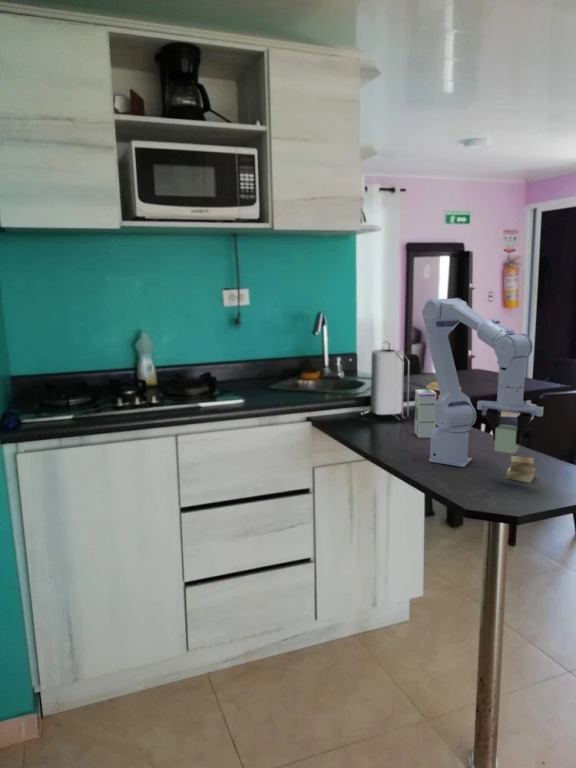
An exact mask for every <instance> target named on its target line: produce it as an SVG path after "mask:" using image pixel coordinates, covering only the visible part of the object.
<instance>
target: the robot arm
mask: <svg viewBox="0 0 576 768" xmlns="http://www.w3.org/2000/svg"><path fill="white" fill-rule="evenodd" d="M422 308H423V309H422V310H421V314H422V318H423V322H424V323H423V324H424V327H425V332H426V333H425V334H426V338H427V342H428V347H429V350H430V351H429V352H430V356H431V360H432V364H433V369H434V373H435V377H436V382H438V387H439V391H440V395H441V396H440V397H439V399H438V400H437V401H436V402H435V403H434V407H435V422H436V424H437V426H438V427H435V428H434V429H433V430H432V434H431V438H430V447H429V450H430V451H429V459H428V461H429V462H431V463H437V464H442V465H449V466H454V467H455V466H456V467H461V468H464V467H466V466H467V465H468V464H469V463H470V462H471V461H472V460H473V458H472V457H468V455H469V454H468V451H469V433H470V432H469V431H470V430H471V429H472V426H473V425H474V424H475V423H476V420H477V410H485V411H486V413H485V417H486V419H487V420H488V423H489V425H490V428H491V433H492V437H493V442H495V431H496V428H497V427H498V426H499V425H500V424H501V416H502V413H511V414H518V415H517V417H516V419H517V420H516V421H517V425H516V426H517V438H516V444H517V445H519V446H520V445H521V444H522V440H523V437H524V433H525V431H526V429H527V427H528V425H529V423H530V421H531V420H532V418H533V416H536V417H538V418H539V417H540V418H541V417H543V415H544V406H538V405H537V406H536V405H532V404H526V403H525V404H524V393H525V379H526V364H527V358H529V356H530V355H531V354H532V351H533V342H532V339H531V338H530V337H529V336H528V335H527V334H526V333H518V334H517V333H515V332H514V329H513V328H509V327H508V328H507V327H506V326H505V325H503V324H501V323H500V322H501V320H500V319H498V318H489V319H485V317H483V316H482V315H481V314H479V313H477V311H476V310H474V309H473V308H471V307H470V306H468V303H467V301H464V300H462V299H461V298H459V297H454V298H433V297H432V298H429V299H427V300H426V302H425V304H424V306H423V307H422ZM459 323H462V324H464V325H466V326H467V327H469V328H470V329H472V330H473V331H475V332H476V336H477V338H478V339H479V340H481V341H482V342H483V343H485V344H486V345H488V347H490V348H491V349H493V351H494V354H495V356H496V358H497V361H496V362H497V363H496V364H497V366H498V380H497V395H496V396H497V398H496V400H495V401H494V400H478V401H477V404H476V405H477V406H476V408H475V407H474V406H473V404H472V402H471V398H470V397H469V396H468V395H466V393H464V392H462V389H460V387H461V385H460V381H459V377H458V373H457V369H456V365H455V361H454V360H455V359H454V357H453V352H452V348H451V344H450V340H449V335H450V333H451V332H452V331H454V329H455V328H456V327H457V326H458V324H459ZM452 404H454V405H452ZM448 405H451V406H448ZM476 409H477V410H476Z"/></svg>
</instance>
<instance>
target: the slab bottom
mask: <svg viewBox="0 0 576 768" xmlns="http://www.w3.org/2000/svg"><path fill="white" fill-rule="evenodd" d="M510 469H511V465H510V466H509V468H508V469H506V478H507V479H506V480H511V479H512V481H516V480H517V482H523V483H529V484H531V483H532V481H533V480H534V479H535V476H536V468H535V467H533V474H531V473H522V472H513V471H510Z"/></svg>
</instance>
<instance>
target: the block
mask: <svg viewBox="0 0 576 768" xmlns="http://www.w3.org/2000/svg"><path fill="white" fill-rule="evenodd" d="M516 438H517V425H510V424H501V423H500V425H499V426H498V427H497V428H496V431H495V441H494V450H493V451H495V452H500V453H507V454H516V453H517V452H518V450H519V449H520V445H517V444H516Z"/></svg>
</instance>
